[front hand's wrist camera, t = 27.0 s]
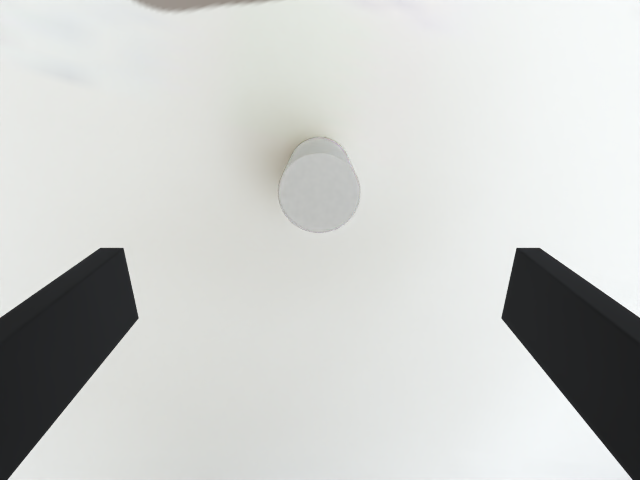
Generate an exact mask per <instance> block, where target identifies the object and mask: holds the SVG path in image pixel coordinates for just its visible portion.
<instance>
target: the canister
mask: <svg viewBox="0 0 640 480" xmlns="http://www.w3.org/2000/svg"><path fill="white" fill-rule="evenodd" d="M278 197H279V203H280V206H281V208H282V210H283V212H284V214H285V215H286V217H287V218H288V219H289V220H290V221H291V222H292V223H293V224H295V225H296V226H298V227H299V228H301V229H304V230H306V231H310V232H318V233H322V232H328V231H332V230H335V229H337V228H339V227H341V226H342V225H344V224H345V223H346V222H348V221H349V220H350V218H351V217H352V216H353V214H354V213H355V211H356V209H357V207H358V204H359V200H360V185H359V181H358V178H357V176H356V173H355V171H354V169H353V167H352V165H351V162H350V160H349V158H348V156H347V154H346V152H345V150H344V149H343V148H342V147H341V146H340V145H339V144H338V143H337V142H335V141H333V140H331V139H328V138H323V137H315V138H311V139H308V140H306V141H304V142H302V143H301V144H300V145H299V146H298V147H297V148H296V149H295V150H294V152H293V153H292V155H291V157H290V160H289V162H288V164H287V166H286V168H285V170H284V172H283V174H282V177H281V179H280V182H279V188H278Z"/></svg>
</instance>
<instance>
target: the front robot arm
mask: <svg viewBox="0 0 640 480" xmlns="http://www.w3.org/2000/svg"><path fill="white" fill-rule="evenodd" d="M137 320H138V313H137V309H136V304H135V299H134V295H133V290H132V286H131V281H130V276H129V272H128V267H127V262H126V258H125V253H124V249H123V248H100V249H98V250H97V251H95V252H94V253H93V254H91V255H90V256H88V257H87V258H85V259H84V260H82V261H81V262H80V263H78V264H77V265H75V266H74V267H72V268H71V269H70V270H68V271H67V272H65V273H64V274H62V275H61V276H60V277H58V278H57V279H55V280H54V281H52V282H51V283H49V284H48V285H47V286H45V287H44V288H42V289H41V290H39V291H38V292H37V293H35V294H34V295H32V296H31V297H29V298H28V299H27V300H25V301H24V302H22V303H21V304H19V305H18V306H17V307H15V308H14V309H12V310H11V311H9V312H8V313H6V314H5V315H4V316H2V317H1V318H0V480H8V478H9V477H10V476H11V475H12V473H13V472H14V471H15V470H16V468H17V467H18V466H19V465H20V464H21V462H22V461H23V460H24V459H25V457H26V456H27V455H28V454H29V452H30V451H31V450H32V449H33V448H34V446H35V445H36V444H37V443H38V441H39V440H40V439H41V438H42V436H43V435H44V434H45V433H46V432H47V430H48V429H49V428H50V427H51V425H52V424H53V423H54V422H55V420H56V419H57V418H58V417H59V416H60V414H61V413H62V412H63V411H64V409H65V408H66V407H67V406H68V404H69V403H70V402H71V401H72V400H73V398H74V397H75V396H76V395H77V393H78V392H79V391H80V390H81V388H82V387H83V386H84V385H85V384H86V382H87V381H88V380H89V379H90V377H91V376H92V375H93V374H94V372H95V371H96V370H97V369H98V368H99V366H100V365H101V364H102V363H103V361H104V360H105V359H106V358H107V356H108V355H109V354H110V353H111V352H112V350H113V349H114V348H115V347H116V345H117V344H118V343H119V342H120V340H121V339H122V338H123V337H124V336H125V334H126V333H127V332H128V331H129V329H130V328H131V327H132V326H133V324H134V323H135V322H136V321H137ZM502 320H503V321H504V322H505V323H506V324H507V326H508V327H509V328H510V329H511V331H512V332H513V333H514V334H515V336H516V337H517V338H518V339H519V340H520V342H521V343H522V344H523V345H524V347H525V348H526V349H527V350H528V352H529V353H530V354H531V355H532V356H533V358H534V359H535V360H536V361H537V363H538V364H539V365H540V366H541V368H542V369H543V370H544V371H545V372H546V374H547V375H548V376H549V377H550V379H551V380H552V381H553V382H554V384H555V385H556V386H557V387H558V388H559V390H560V391H561V392H562V393H563V395H564V396H565V397H566V398H567V400H568V401H569V402H570V403H571V404H572V406H573V407H574V408H575V409H576V411H577V412H578V413H579V414H580V416H581V417H582V418H583V419H584V420H585V422H586V423H587V424H588V425H589V427H590V428H591V429H592V430H593V432H594V433H595V434H596V435H597V436H598V438H599V439H600V440H601V441H602V443H603V444H604V445H605V446H606V448H607V449H608V450H609V451H610V452H611V454H612V455H613V456H614V457H615V459H616V460H617V461H618V462H619V464H620V465H621V466H622V467H623V468H624V470H625V471H626V472H627V473H628V475H629V476H630V477H631V478H632V480H640V318H639V317H638V316H636V315H635V314H634V313H632V312H631V311H629V310H628V309H626V308H625V307H623V306H622V305H621V304H619V303H618V302H616V301H615V300H613V299H612V298H611V297H609V296H608V295H606V294H605V293H603V292H602V291H601V290H599V289H598V288H596V287H595V286H593V285H592V284H591V283H589V282H588V281H586V280H585V279H583V278H582V277H580V276H579V275H578V274H576V273H575V272H573V271H572V270H570V269H569V268H568V267H566V266H565V265H563V264H562V263H560V262H559V261H558V260H556V259H555V258H553V257H552V256H550V255H549V254H547V253H546V252H545V251H543V250H542V249H540V248H517V249H516V253H515V258H514V262H513V267H512V272H511V276H510V281H509V286H508V290H507V295H506V299H505V304H504V309H503V313H502Z"/></svg>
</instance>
